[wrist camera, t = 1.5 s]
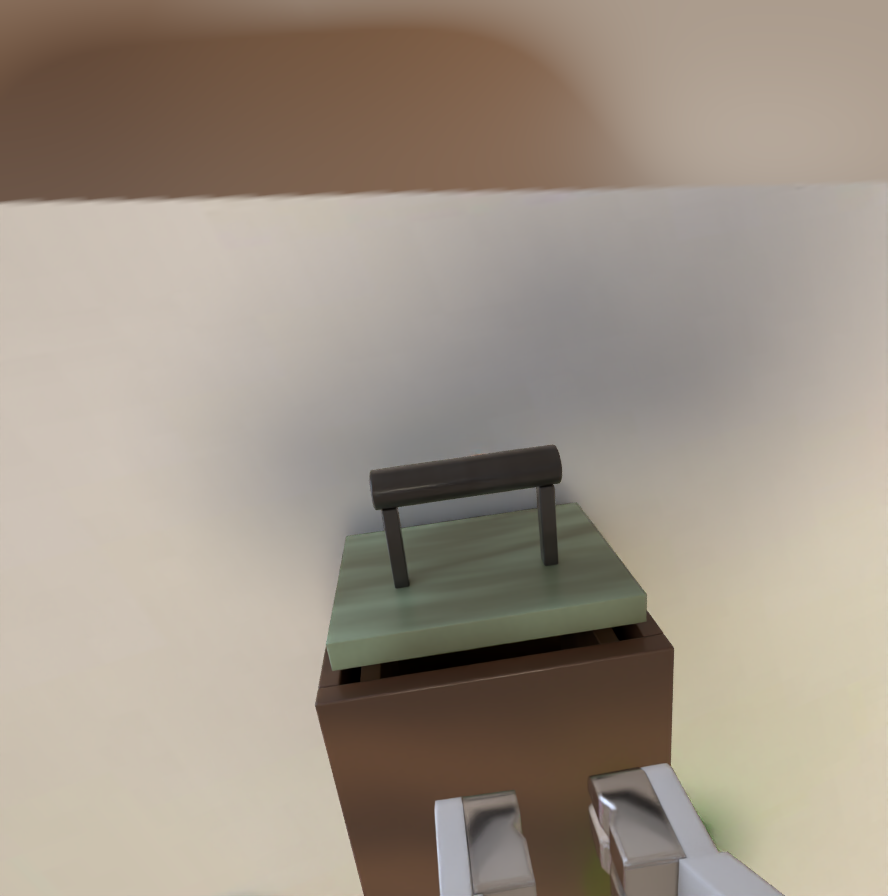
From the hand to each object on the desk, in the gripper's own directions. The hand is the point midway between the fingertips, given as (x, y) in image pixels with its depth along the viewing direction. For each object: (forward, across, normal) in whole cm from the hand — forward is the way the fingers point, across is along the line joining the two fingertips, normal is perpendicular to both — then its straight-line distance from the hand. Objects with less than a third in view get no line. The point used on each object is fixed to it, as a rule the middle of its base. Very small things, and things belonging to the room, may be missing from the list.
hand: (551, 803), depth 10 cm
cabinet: (+17, 0, +11) cm, 20 cm away
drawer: (+16, 0, +6) cm, 17 cm away
